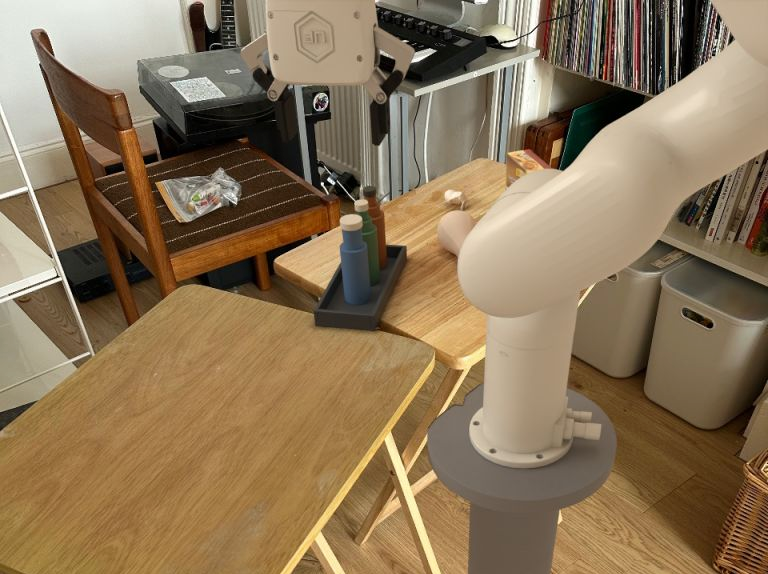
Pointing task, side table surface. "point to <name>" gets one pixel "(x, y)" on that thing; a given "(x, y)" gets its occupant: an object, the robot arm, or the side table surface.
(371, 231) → the green bottle
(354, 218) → the blue bottle
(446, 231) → the light bulb
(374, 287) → the tray
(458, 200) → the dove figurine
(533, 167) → the candy box
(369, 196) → the amber bottle
